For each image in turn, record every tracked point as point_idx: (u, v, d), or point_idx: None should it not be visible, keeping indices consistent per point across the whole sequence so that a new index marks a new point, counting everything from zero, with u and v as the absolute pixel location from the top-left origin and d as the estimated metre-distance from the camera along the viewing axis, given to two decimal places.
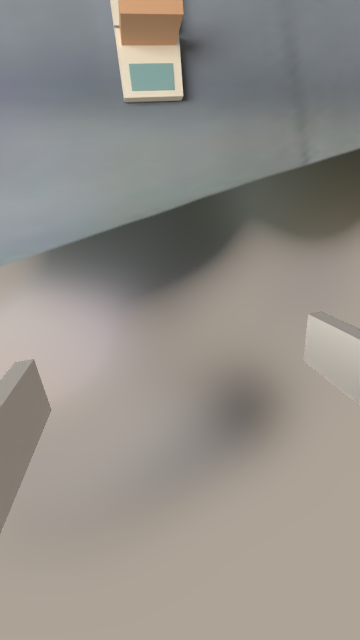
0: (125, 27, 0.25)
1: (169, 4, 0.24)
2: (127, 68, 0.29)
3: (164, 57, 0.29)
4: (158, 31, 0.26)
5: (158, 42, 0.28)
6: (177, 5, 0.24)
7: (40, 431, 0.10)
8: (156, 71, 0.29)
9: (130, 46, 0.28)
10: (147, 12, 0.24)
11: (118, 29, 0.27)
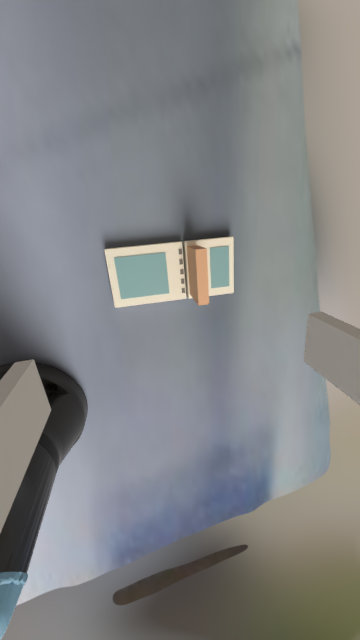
0: None
1: (201, 262, 0.27)
2: (213, 288, 0.33)
3: None
4: None
5: None
6: (201, 254, 0.26)
7: (40, 431, 0.10)
8: (215, 263, 0.32)
9: None
10: (207, 282, 0.28)
11: (189, 295, 0.33)
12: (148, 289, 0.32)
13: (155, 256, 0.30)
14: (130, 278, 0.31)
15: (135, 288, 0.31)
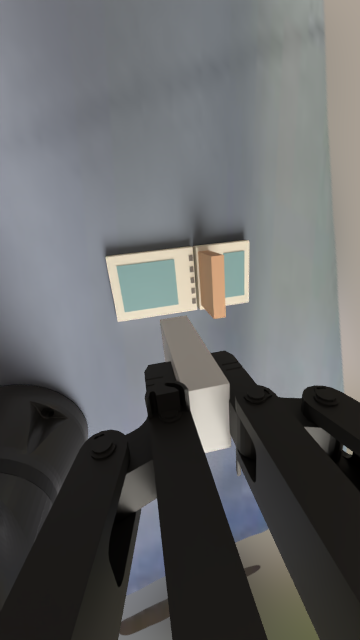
0: None
1: (217, 270, 0.23)
2: (227, 298, 0.30)
3: None
4: None
5: None
6: (217, 262, 0.23)
7: None
8: (229, 270, 0.28)
9: None
10: (223, 292, 0.24)
11: (200, 306, 0.29)
12: (155, 300, 0.28)
13: (163, 263, 0.27)
14: (135, 288, 0.27)
15: (140, 299, 0.28)
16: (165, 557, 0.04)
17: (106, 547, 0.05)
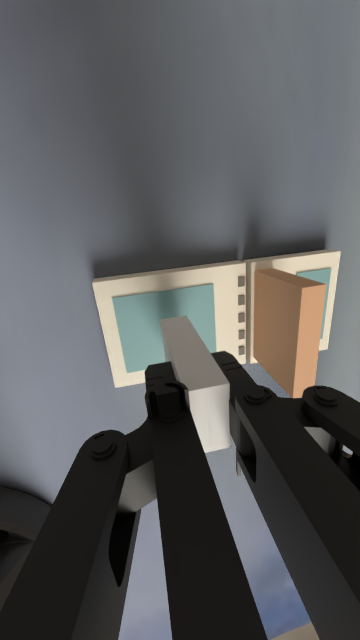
0: None
1: (310, 314, 0.12)
2: None
3: None
4: None
5: None
6: (312, 298, 0.12)
7: None
8: None
9: None
10: (316, 353, 0.13)
11: (251, 358, 0.18)
12: None
13: (193, 291, 0.15)
14: (145, 334, 0.16)
15: (154, 352, 0.16)
16: (165, 557, 0.04)
17: (106, 547, 0.05)
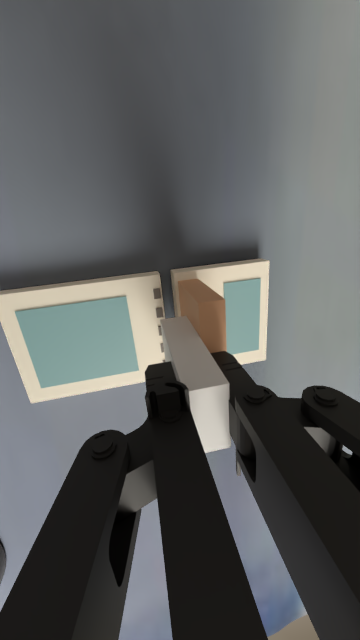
0: None
1: (211, 329, 0.11)
2: None
3: None
4: None
5: None
6: (211, 313, 0.11)
7: None
8: (234, 311, 0.16)
9: None
10: None
11: None
12: (96, 366, 0.16)
13: (106, 304, 0.15)
14: (57, 348, 0.15)
15: (69, 366, 0.16)
16: (165, 557, 0.04)
17: (106, 547, 0.05)
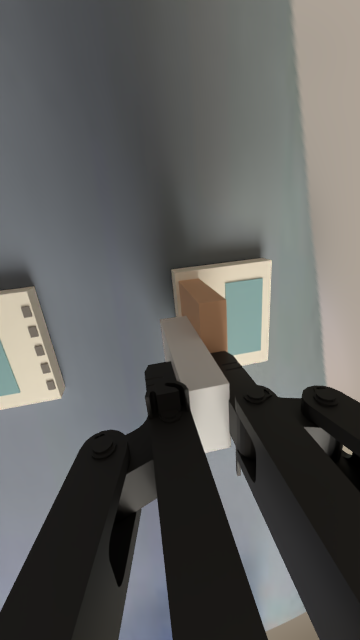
0: None
1: (212, 330, 0.11)
2: None
3: None
4: None
5: None
6: (212, 314, 0.11)
7: None
8: (236, 311, 0.16)
9: None
10: None
11: None
12: None
13: None
14: None
15: None
16: (165, 557, 0.04)
17: (106, 547, 0.05)
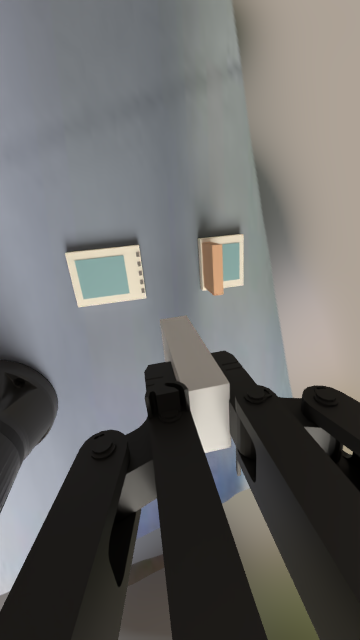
0: None
1: (216, 256, 0.30)
2: (225, 281, 0.36)
3: None
4: None
5: None
6: (216, 249, 0.30)
7: None
8: (227, 258, 0.35)
9: None
10: (221, 274, 0.31)
11: (203, 287, 0.36)
12: (109, 289, 0.34)
13: (114, 258, 0.32)
14: (91, 279, 0.33)
15: (96, 289, 0.33)
16: (165, 557, 0.04)
17: (105, 547, 0.05)
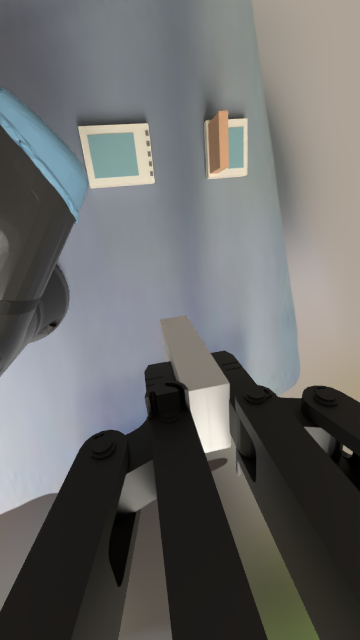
0: None
1: (223, 123, 0.32)
2: (230, 169, 0.38)
3: None
4: None
5: None
6: (223, 116, 0.31)
7: None
8: (232, 143, 0.37)
9: None
10: (227, 144, 0.32)
11: (209, 174, 0.37)
12: (119, 170, 0.35)
13: (124, 136, 0.34)
14: (103, 157, 0.34)
15: (107, 168, 0.35)
16: (165, 557, 0.04)
17: (105, 548, 0.05)
